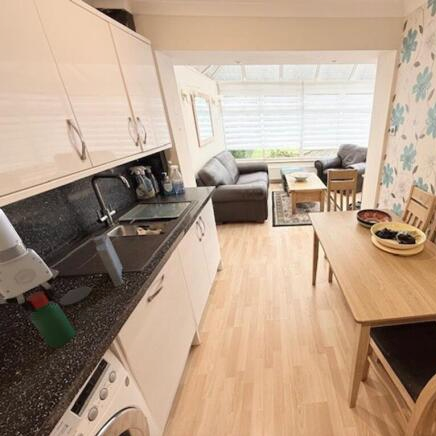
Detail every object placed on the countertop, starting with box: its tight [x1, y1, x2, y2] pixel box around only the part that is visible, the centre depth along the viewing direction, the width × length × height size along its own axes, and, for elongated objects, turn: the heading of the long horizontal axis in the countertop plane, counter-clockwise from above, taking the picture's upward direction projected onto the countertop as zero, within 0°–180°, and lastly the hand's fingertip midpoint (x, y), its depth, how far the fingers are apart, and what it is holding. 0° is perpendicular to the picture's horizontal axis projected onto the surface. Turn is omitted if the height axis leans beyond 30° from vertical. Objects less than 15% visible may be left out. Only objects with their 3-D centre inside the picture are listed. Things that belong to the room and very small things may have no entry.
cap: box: [25, 290, 51, 309], centre depth 69 cm, size 4×4×3 cm
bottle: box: [29, 301, 77, 349], centre depth 72 cm, size 6×6×18 cm
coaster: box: [59, 286, 93, 307], centre depth 94 cm, size 10×10×1 cm
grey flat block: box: [92, 233, 125, 288], centre depth 100 cm, size 16×4×20 cm, turn 35°
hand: (41, 304), depth 70 cm, fingers closed on cap, 3 cm apart
